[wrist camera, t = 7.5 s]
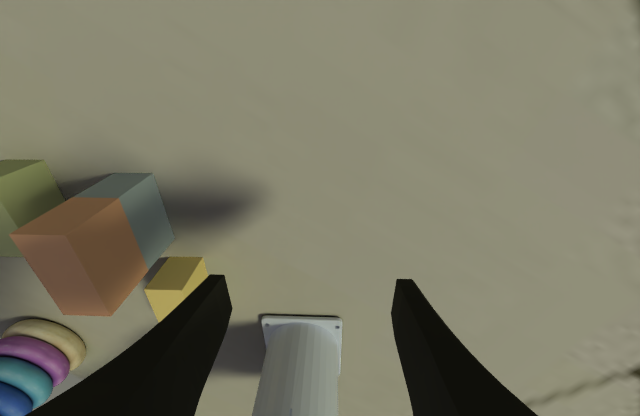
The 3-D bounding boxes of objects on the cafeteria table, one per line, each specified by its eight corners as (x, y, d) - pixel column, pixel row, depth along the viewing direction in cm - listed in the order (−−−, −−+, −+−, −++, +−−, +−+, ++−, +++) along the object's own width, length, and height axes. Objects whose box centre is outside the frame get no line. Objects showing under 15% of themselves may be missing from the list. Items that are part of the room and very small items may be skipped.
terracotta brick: (148, 270, 21) (110, 316, 17) (109, 269, 21) (63, 314, 17) (118, 198, 18) (65, 235, 14) (72, 197, 18) (8, 234, 14)
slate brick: (174, 238, 24) (147, 271, 21) (140, 237, 24) (108, 270, 21) (153, 173, 21) (117, 198, 18) (114, 172, 21) (71, 198, 18)
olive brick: (80, 226, 24) (37, 257, 21) (46, 226, 24) (-2, 256, 21) (45, 159, 21) (-13, 182, 18) (7, 159, 21) (-58, 181, 18)
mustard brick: (216, 303, 28) (199, 340, 25) (187, 303, 28) (166, 339, 25) (203, 256, 25) (182, 290, 22) (170, 255, 25) (143, 289, 22)
